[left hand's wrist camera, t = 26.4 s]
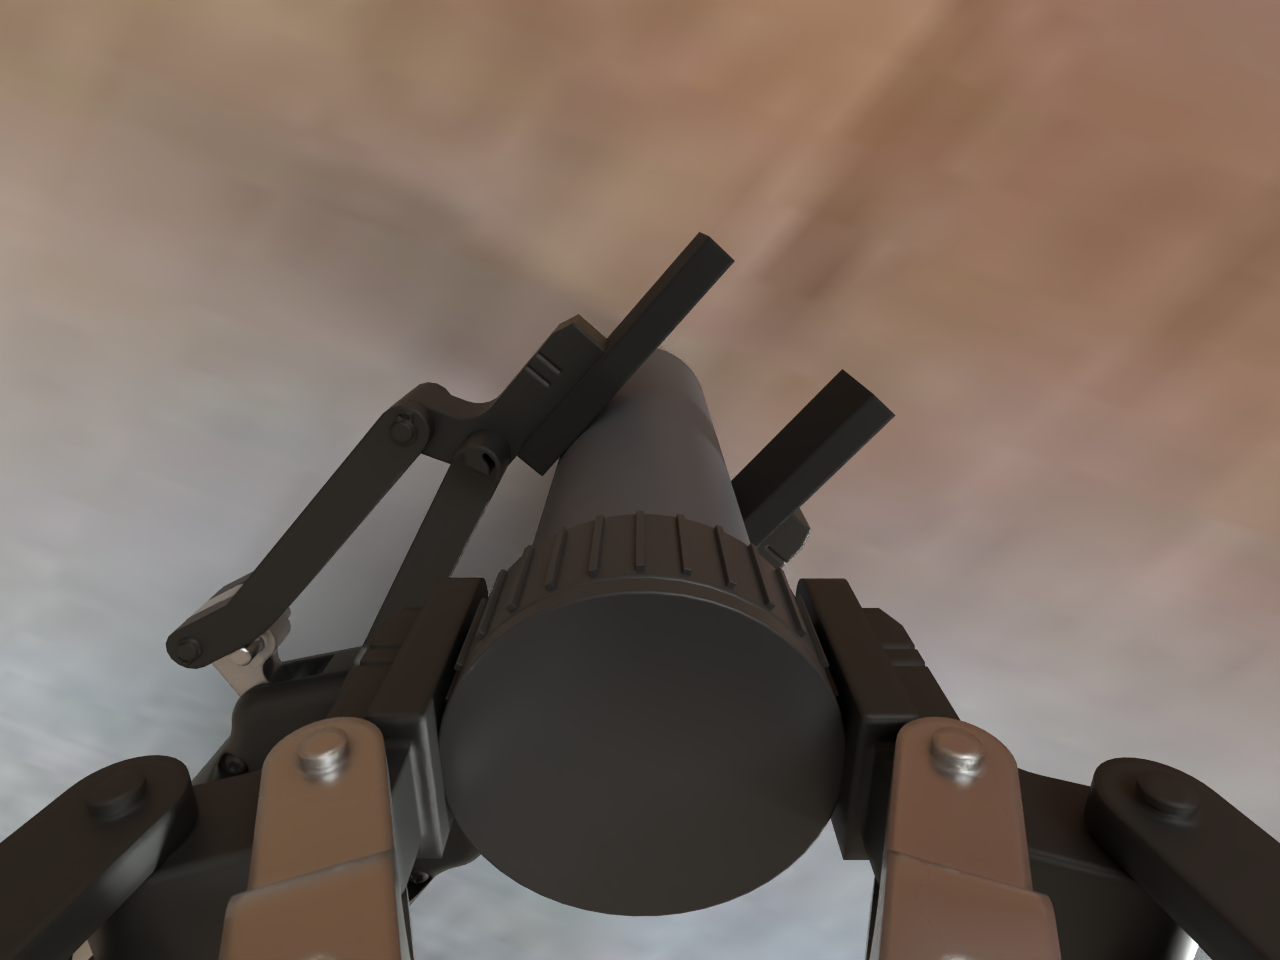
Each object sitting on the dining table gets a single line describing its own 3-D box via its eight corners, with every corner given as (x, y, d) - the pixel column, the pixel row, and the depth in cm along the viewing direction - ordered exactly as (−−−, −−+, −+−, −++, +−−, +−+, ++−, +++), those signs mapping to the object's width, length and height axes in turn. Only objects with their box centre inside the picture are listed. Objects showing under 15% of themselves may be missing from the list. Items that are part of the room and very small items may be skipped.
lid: (602, 844, 13) (595, 973, 11) (397, 626, 11) (340, 727, 9) (875, 700, 12) (927, 812, 10) (690, 437, 10) (704, 501, 8)
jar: (663, 489, 26) (693, 877, 11) (555, 431, 25) (435, 765, 10) (729, 386, 25) (860, 672, 10) (617, 321, 24) (578, 527, 9)
